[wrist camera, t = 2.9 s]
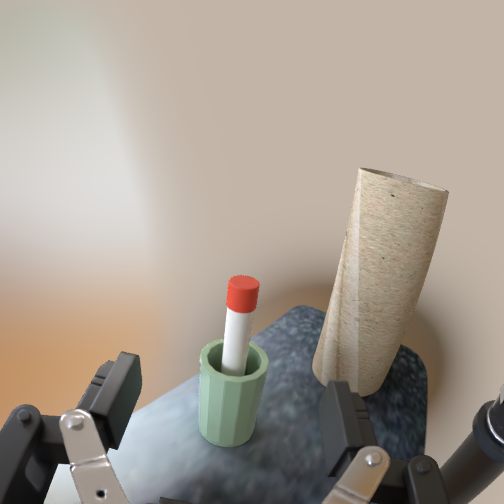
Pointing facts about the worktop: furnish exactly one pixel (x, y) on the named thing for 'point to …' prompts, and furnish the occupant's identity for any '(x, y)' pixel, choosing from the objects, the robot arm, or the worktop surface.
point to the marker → (238, 323)
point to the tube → (378, 277)
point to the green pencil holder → (229, 396)
